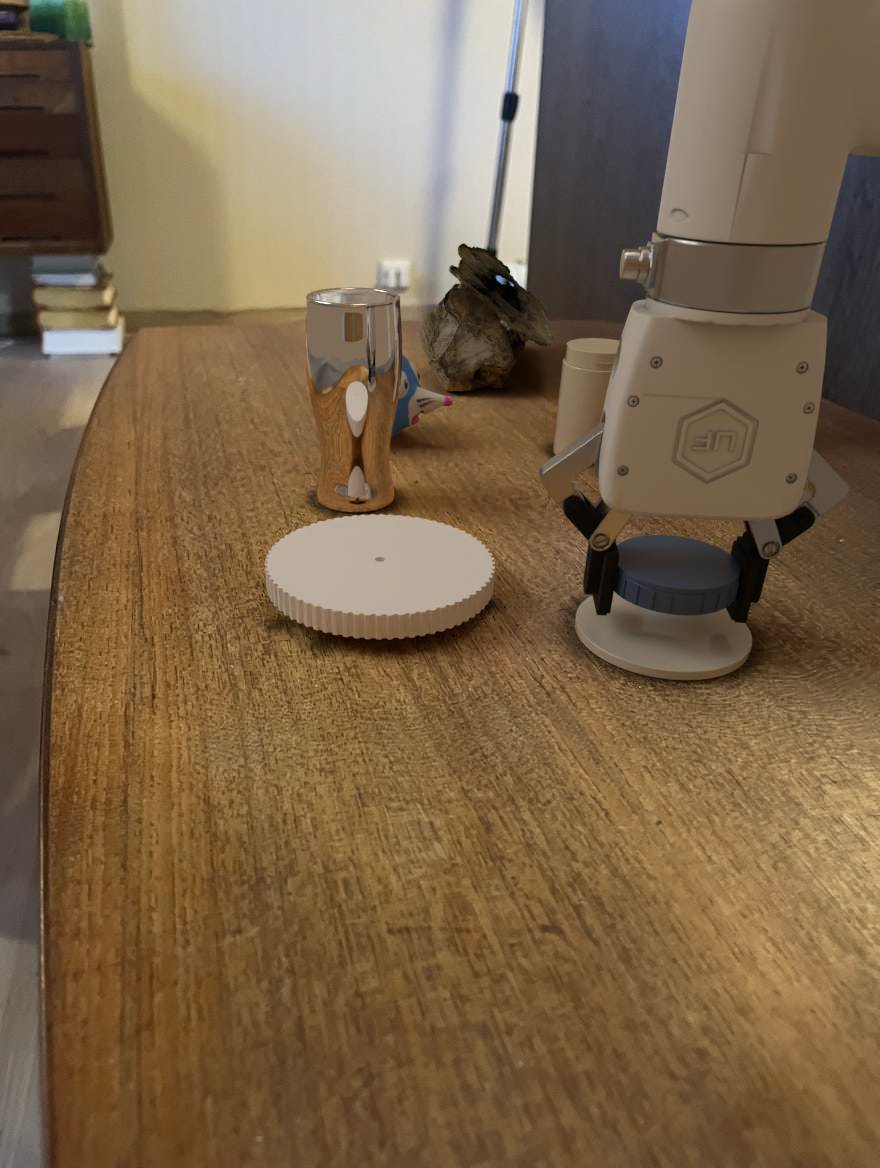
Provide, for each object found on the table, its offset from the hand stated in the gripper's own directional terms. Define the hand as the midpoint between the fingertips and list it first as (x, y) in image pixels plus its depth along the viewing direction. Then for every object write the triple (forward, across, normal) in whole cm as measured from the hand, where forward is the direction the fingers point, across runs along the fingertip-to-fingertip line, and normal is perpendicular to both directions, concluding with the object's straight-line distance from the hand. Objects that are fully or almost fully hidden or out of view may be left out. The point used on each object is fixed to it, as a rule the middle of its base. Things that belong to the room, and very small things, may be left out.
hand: (666, 605), depth 51 cm
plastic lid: (+2, -17, +3) cm, 17 cm away
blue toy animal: (+2, -19, +33) cm, 38 cm away
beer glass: (+2, -20, +19) cm, 28 cm away
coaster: (+2, 0, 0) cm, 2 cm away
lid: (-3, 0, 0) cm, 3 cm away
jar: (+2, -1, +32) cm, 32 cm away
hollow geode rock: (+2, -10, +61) cm, 62 cm away
